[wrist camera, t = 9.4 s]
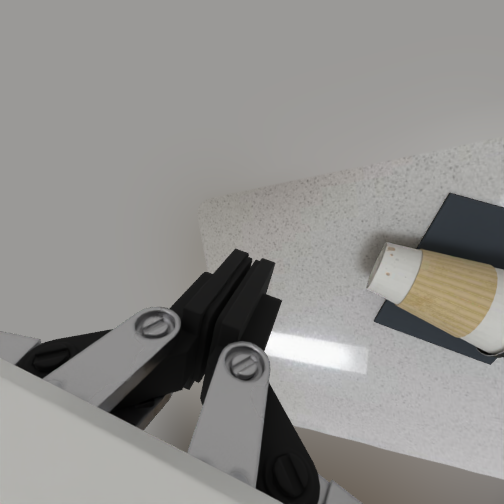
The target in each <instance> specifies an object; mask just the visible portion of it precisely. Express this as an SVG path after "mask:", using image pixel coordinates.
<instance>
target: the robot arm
mask: <svg viewBox="0 0 504 504" xmlns="http://www.w3.org/2000/svg"><path fill="white" fill-rule="evenodd" d="M248 256H249V254H248V253H246V252H243V251H241V250H238V249H235V250H234V251H233V252H232V253H231V254H230V255H229V256H228V258H227V259H226V260H225V261H224V262H223V263H222V264H221V266H220V267H219V268H218V269H217V270H216V271H215V272H214V274H211V273H208V272H204V273H203V274H202V275H201V276H200V277H199V278H198V279H197V280H196V281H195V282H194V283H193V285H192V286H191V287H190V288H189V289H188V290H187V291H186V292H185V293H184V294H183V295H182V296H181V297H180V298H179V299H178V300H177V301H176V302H175V303H174V305H172V307H171V308H170V309H168V308H164V307H150V308H146V309H143V310H141V311H139V312H138V313H136V314H135V315H133V316H132V317H130V318H129V319H127V320H126V321H125V322H123V323H122V324H120V325H119V326H117V327H116V328H115V329H112V330H106V331H100V332H95V333H89V334H84V335H78V336H72V337H68V338H61V339H56V340H52V341H48V342H45V343H41V341H40V339H36V338H32V337H26V336H22V335H17V334H12V333H7V332H2V331H0V504H363V503H361V502H360V501H359V500H358V499H356V498H355V497H354V496H353V495H351V494H350V493H349V492H347V491H346V490H345V489H344V488H342V487H341V486H340V485H338V484H337V483H336V482H334V481H333V480H331V482H330V483H329V482H328V481H327V480H326V479H324V478H323V477H322V476H320V475H319V474H318V473H317V470H316V468H315V465H314V463H313V461H312V460H311V458H310V456H309V454H308V452H307V450H306V449H305V447H304V445H303V443H302V441H301V439H300V438H299V436H298V434H297V432H296V431H295V429H294V427H293V425H292V423H291V421H290V420H289V418H288V416H287V414H286V412H285V411H284V409H283V407H282V405H281V403H280V402H279V400H278V398H277V396H276V394H275V393H274V391H273V389H272V387H271V385H270V384H269V376H270V361H269V359H268V356H267V355H266V353H265V352H264V350H265V347H266V345H267V342H268V339H269V336H270V334H271V331H272V328H273V325H274V322H275V319H276V317H277V314H278V311H279V308H280V305H281V302H282V300H280V299H277V298H275V297H272V296H269V295H267V294H266V292H267V289H268V286H269V282H270V279H271V276H272V273H273V269H274V266H275V263H274V262H272V261H269V260H266V259H263V258H262V259H261V260H260V261H258V260H255V262H254V263H253V265H252V266H251V263H252V258H250V257H248ZM250 267H251V268H250ZM204 374H205V377H204V381H203V387H202V392H201V397H200V399H201V402H202V405H203V407H202V410H201V413H200V416H199V419H198V422H197V425H196V428H195V431H194V434H193V437H192V440H191V443H190V446H189V449H188V452H187V453H186V452H184V451H182V450H180V449H178V448H176V447H174V446H172V445H170V444H168V443H166V442H164V441H163V440H161V439H159V438H157V437H155V436H153V435H151V434H149V433H147V432H145V431H143V430H144V429H145V428H146V427H147V426H148V424H149V423H150V422H151V421H152V420H153V419H154V417H155V416H156V415H157V414H158V413H159V411H160V410H161V409H162V408H163V407H164V406H165V404H166V403H167V402H168V401H169V399H170V398H171V396H172V394H173V392H176V391H179V390H182V388H183V387H184V388H186V389H189V390H190V388H191V386H192V384H193V383H194V381H196V382H198V383H199V382H200V381H201V379H202V377H203V376H204Z"/></svg>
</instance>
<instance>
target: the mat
mask: <svg viewBox="0 0 504 504" xmlns="http://www.w3.org/2000/svg"><path fill="white" fill-rule="evenodd" d="M417 249H418V250H419V249H424V250H428V251H432V252H437V253H441V254H446V255H450V256H454V257H459V258H463V259H467V260H472V261H476V262H480V263H485V264H489V265H492V266H493V267H494V268H499V269H503V270H504V208H503V207H499V206H496V205H492V204H488V203H485V202H481V201H478V200H474V199H470V198H467V197H463V196H459V195H456V194H452V193H449V195H448V197H447V198H446V200H445V202H444V203H443V205H442V207H441V209H440V210H439V212H438V214H437V215H436V217H435V219H434V220H433V222H432V224H431V225H430V227H429V229H428V230H427V232H426V234H425V235H424V237H423V239H422V240H421V242H420V244H419V246H418V247H417ZM374 322H376V323H379V324H381V325H384V326H387V327H390V328H392V329H395V330H398V331H400V332H403V333H406V334H409V335H411V336H414V337H417V338H419V339H422V340H425V341H427V342H430V343H433V344H436V345H438V346H441V347H444V348H446V349H449V350H452V351H455V352H457V353H460V354H463V355H465V356H468V357H471V358H474V359H476V360H479V361H482V362H484V363H487V364H490V365H491V364H492V363H493V362H494V361H495V360H496V359H497V358H495V357H490V356H486V355H483V354H482V353H480V352H479V351H478V350H477V349H476V347H475V346H474V345H472V344H470V343H469V342H467V341H465V340H463V339H461V338H457V337H454V336H452V335H451V334H449V333H447V332H445V331H443V330H441V329H439V328H437V327H436V326H434V325H432V324H430V323H428V322H426V321H424V320H422V319H421V318H419V317H417V316H415V315H413V314H411V313H409V312H407V311H406V310H404V309H402V308H400V307H398V306H396V305H395V303H393V302H391V301H389V300H387V299H386V301H385V303H384V304H383V306H382V308H381V309H380V311H379V313H378V315H377V316H376V318H375V320H374Z"/></svg>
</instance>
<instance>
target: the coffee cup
mask: <svg viewBox="0 0 504 504" xmlns="http://www.w3.org/2000/svg"><path fill="white" fill-rule="evenodd" d="M366 288H367V289H368V290H370V291H372V292H374V293H376V294H378V295H380V296H381V297H383V298H385V299H387V300H389V301H391V302H393V303H395V305H396V306H398V307H400V308H402V309H404V310H406V311H407V312H409V313H411V314H413V315H415V316H417V317H419V318H421V319H422V320H424V321H426V322H428V323H430V324H432V325H434V326H436V327H437V328H439V329H441V330H443V331H445V332H447V333H449V334H451V335H452V336H454V337H457V338H461V339H463V340H465V341H467V342H469V343H470V344H472V345H474V346H475V347H476V349H477V350H478V351H479V352H480V353H482V354H483V355H486V356H490V357H495V358H500V357H504V270H503V269H499V268H494V267H493V266H492V265H489V264H485V263H480V262H476V261H472V260H467V259H463V258H459V257H454V256H450V255H446V254H441V253H437V252H432V251H428V250H424V249H419V250H418V249H414V248H409V247H405V246H401V245H397V244H392V243H388V242H386V243H385V245H384V246H383V248H382V250H381V252H380V254H379V256H378V258H377V260H376V262H375V264H374V267H373V269H372V272H371V274H370V277H369V280H368V283H367V287H366Z"/></svg>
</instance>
